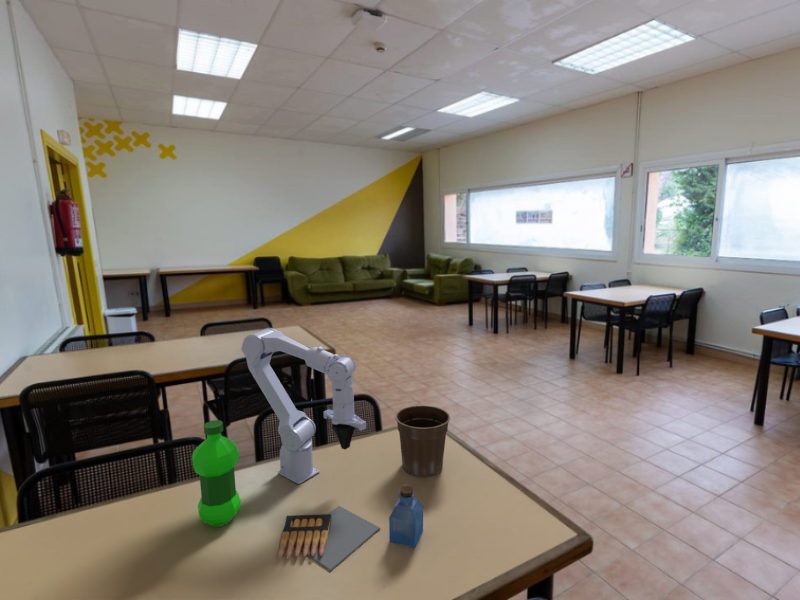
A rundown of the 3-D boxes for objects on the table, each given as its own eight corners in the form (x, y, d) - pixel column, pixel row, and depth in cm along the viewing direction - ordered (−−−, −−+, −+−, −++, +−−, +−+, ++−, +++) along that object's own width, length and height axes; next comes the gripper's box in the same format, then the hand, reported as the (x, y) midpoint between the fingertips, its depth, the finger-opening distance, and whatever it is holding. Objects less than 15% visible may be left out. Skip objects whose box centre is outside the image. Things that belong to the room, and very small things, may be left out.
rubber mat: (289, 543, 97) (288, 541, 97) (339, 507, 110) (339, 505, 110) (330, 571, 89) (330, 569, 89) (379, 529, 102) (379, 527, 102)
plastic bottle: (250, 518, 106) (244, 423, 102) (207, 540, 98) (199, 438, 94) (231, 501, 113) (225, 411, 109) (190, 520, 105) (181, 425, 101)
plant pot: (399, 450, 138) (399, 403, 136) (449, 454, 136) (450, 406, 133) (391, 479, 122) (391, 426, 120) (448, 483, 120) (449, 429, 118)
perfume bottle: (423, 530, 102) (423, 484, 100) (415, 548, 96) (415, 499, 94) (398, 524, 104) (398, 479, 102) (389, 542, 98) (389, 494, 96)
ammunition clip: (331, 513, 104) (324, 552, 92) (331, 520, 104) (325, 559, 92) (286, 515, 103) (274, 554, 91) (287, 522, 104) (275, 561, 92)
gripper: (314, 400, 119) (317, 446, 121) (352, 412, 110) (354, 461, 112) (332, 392, 124) (335, 436, 126) (370, 403, 115) (372, 450, 117)
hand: (345, 447), depth 119 cm, fingers closed
